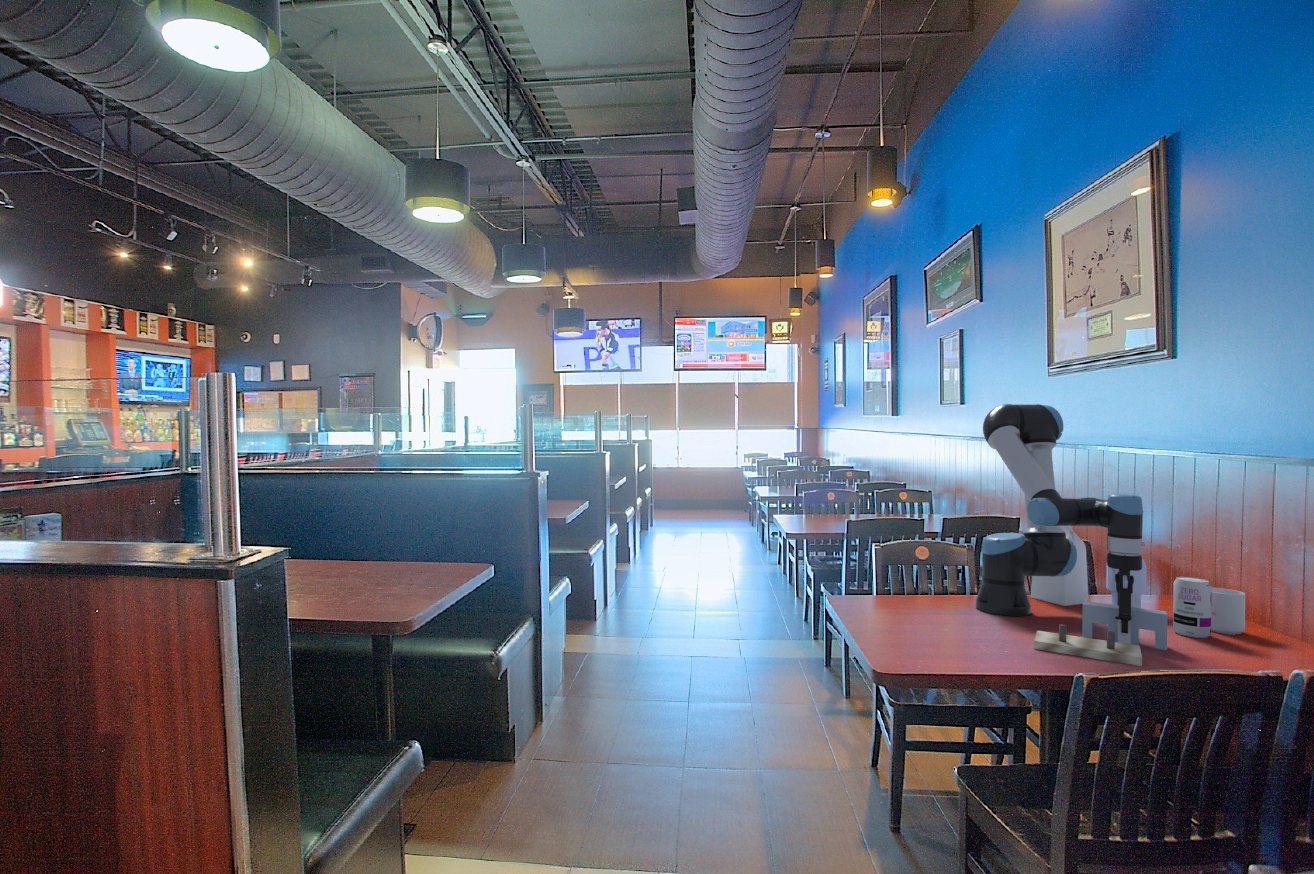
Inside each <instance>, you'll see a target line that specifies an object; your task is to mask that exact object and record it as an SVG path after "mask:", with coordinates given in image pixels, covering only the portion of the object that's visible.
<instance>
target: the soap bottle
mask: <svg viewBox="0 0 1314 874" xmlns="http://www.w3.org/2000/svg"><path fill="white" fill-rule="evenodd" d="M1147 568H1148V567H1147V564H1146V561H1145V560H1144V557H1142V569H1141V570H1139V571H1133V570H1131V571H1130V576H1133V577H1134V583H1133V593H1132V594H1131V607H1135V608H1142V595H1145V594H1147V580H1148V579H1147V577H1148V576H1147V573H1148V572H1147V571H1148V569H1147ZM1118 572H1119V569H1113V568H1110V567H1108V566H1107V565H1106V581H1105V585H1106V587H1105V588H1106V590H1107V591H1110V592H1111V594H1110V595H1111V596H1110V599H1111V600H1110V601H1111V603H1110V605H1117V601H1118V593H1117V591H1116V582H1115V574H1117V573H1118Z"/></svg>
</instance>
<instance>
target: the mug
mask: <svg viewBox="0 0 1314 874" xmlns="http://www.w3.org/2000/svg"><path fill="white" fill-rule="evenodd" d="M1245 630H1246V593H1245V592H1243V591H1240V590H1235V589H1231V588H1230V589H1229V588H1222V587H1212V599H1211V632H1214V633H1219V634H1223V635H1232V636H1234V635H1236V634H1238V635H1241V634H1243V633H1244V631H1245ZM1240 633H1241V634H1240ZM1236 636H1237V635H1236Z"/></svg>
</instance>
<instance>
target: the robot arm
mask: <svg viewBox="0 0 1314 874" xmlns="http://www.w3.org/2000/svg"><path fill="white" fill-rule="evenodd" d="M1063 432H1064V421H1063V418H1062V415H1061V413H1060V412H1059V410H1058V409H1056V408H1055V407H1054V406H1052V405H1045V404H1043V405H1042V404H1040V403H1037V404H1012V403H1011V404H1010V403H1007V404H1002V405H1001V404H1000V405H998V406H995V407H994V408H992V409H991V410H990V411H989V412H988V413H987V414H986V416H985V418H984V420H983V423H982V433H983V436H984V440H985V441H986V443H987V444H988V447H990V448H991V449H992V450H996V452H997V453H998V455H999V456H1000V458H1001V460H1002V461H1003V462H1004V464H1005V465H1006V467H1007V469H1008V470H1009V472H1010V473H1011V475H1012V476H1013V478H1014V479H1015V481H1016V483H1017V485H1018V486H1019V488H1020V489H1021V491H1022V492H1023V493H1024V501H1025V513H1026V523H1027V527H1026V528H1025V529H1024V531H1023V532H1022V533H1018V532H997V533H993V534H989V535H986V536H985V537H984V538H983V541H982V549H981V554H982V556H981V557H982V560H981V563H982V564H981V570H982V571H981V585H980V587H979V590H978V593H977V595H976V598H975V608H976V609H978V610H980V611H982V612H986V613H989V614H994V615H995V614H996V615H1001V616H1009V617H1024V616H1028V615H1030V614H1031V613H1032V612H1031V609H1032V608H1031V607H1032V606H1031V603H1030V600H1029V597H1028V594H1027V590H1026V587H1025V579H1026V577H1032V576H1050V577H1055V576H1063V575H1067V574H1068V573H1070V572H1071V571H1072V569H1073V568H1074V567H1075V564H1076V561H1077V550H1076V546H1075V545H1074V543H1073V542H1072V541H1071V540H1070V539H1068V538H1066V533H1065V531H1064V530H1062V529H1061V528H1060V527H1059V526H1073V527H1074V526H1075V527H1076V526H1077V527H1099V528H1106V529H1107V534H1106V549H1107V552H1108V553H1107V554H1106V567H1107V566H1108V567H1110V568H1113V569H1119V572H1118V573H1117V574H1115V582H1116V591H1117V593H1118V601H1117V605H1118V606H1119V616H1118V617H1117V616H1115V619H1118V643H1125V644H1131V619H1132V617H1131V594H1132V593H1133V583H1134V577H1133V576H1130V571H1131V570H1133V571H1139V570H1141V569H1142V558H1143V556H1142V555H1140V554H1142V553H1143V547H1145V546H1146V543H1145V542H1144V541H1143V516H1144V510H1143V508H1144V507H1143V499H1142V497H1141V496H1139V495H1137V494H1129V493H1127V494H1126V493H1111V494H1109V495H1108V496H1107V499H1102V498H1096V497H1081V498H1071V497H1070V498H1068V497H1067V498H1063V497H1062V496H1061V495H1060V493H1059V492H1058V490H1056V483H1055V474H1054V473H1055V472H1054V463H1053V453H1052V451H1053V449H1054V448H1056V447H1057V441H1058V440H1059V439H1061V437H1062V436H1063ZM1142 546H1143V547H1142ZM1126 614H1128V615H1126Z"/></svg>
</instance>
